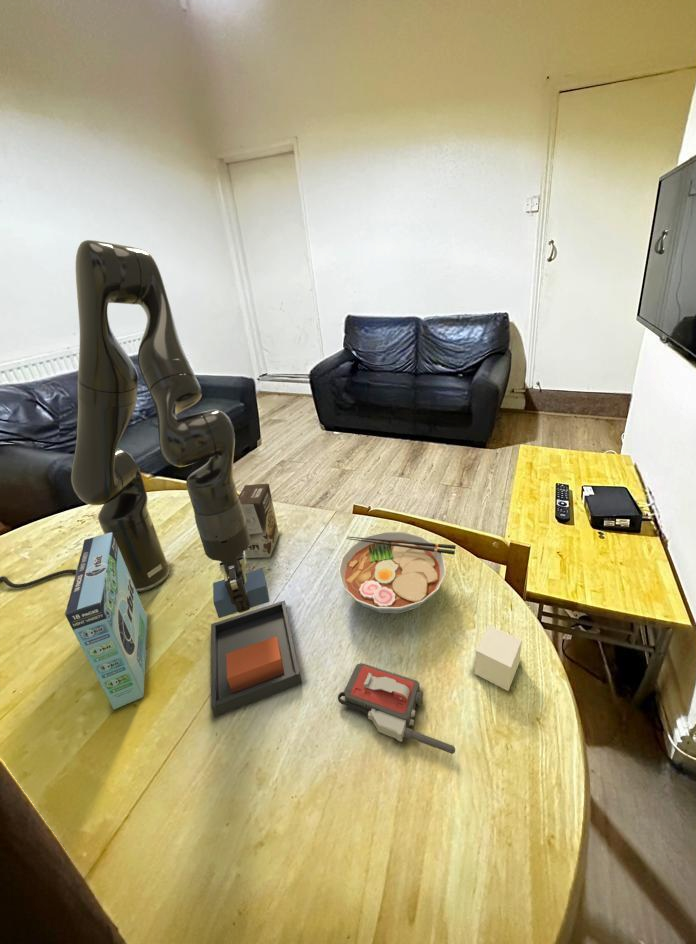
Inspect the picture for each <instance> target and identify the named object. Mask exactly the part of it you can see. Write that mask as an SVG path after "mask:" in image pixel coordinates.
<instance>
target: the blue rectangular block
mask: <svg viewBox="0 0 696 944" xmlns="http://www.w3.org/2000/svg"><path fill="white" fill-rule="evenodd" d="M245 573H246V577H247V582H246V583H245V586H246V590H247V592H248V593H247V596H248V600H249V603H250V609H252V608H255V607H258V606H261V605H264V604H267V603H270V601H271V600H270V596H269V595H270V594H269V589H268V584H267V579H266V576H265V571H264V568H263V567H262V568H257V569H254V570H251V571H248V572H245ZM239 577H242V575H240V576H239ZM237 578H238V577H237ZM228 579H229V580H230V578H229V577H228ZM212 596H213V601H212V602H213V606H214V609H215V612H216V615H217V619H221V618H222V619H223V618H224V617H228V616H231V615H233V614H237V613H238V612H237V608H236V605H235V604H232V603H231V599H230V597H229V594H228V591H227V588H226V587H225V579H220V580H217V581H213V583H212Z"/></svg>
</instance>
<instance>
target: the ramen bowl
mask: <svg viewBox="0 0 696 944" xmlns="http://www.w3.org/2000/svg"><path fill="white" fill-rule="evenodd" d="M345 539H346V540H351V541H357V542H355V543H353V544H352V545H351V546H349V548H348V549H347V551H346V552H345V553H344V554H343V555H342V557H341V560H340V563H339V568H338V572H337V573H338V577H339V580H340V582H341V583H340V584H341V587H342V589H343V590H344V591H345V592H346V593H347V594H348V595H349V596H350V597H351V598H352V599H353V600H355V601H356V602H357V603H358V604H359V605H361V606H362V607H364V608H367V609H370V610H372V611H375V612H378V613H380V614H402V613H404V612H407V611H411V610H414V609H417V608H419V607H420V606H421V605H423V604H424V603H426V601H428V600H429V599H430V598H431V597H433V596H434V595H435V594H436V593H437V591H439V589H440V586H441V585H442V582H443V581H444V580H445V579H444V578H445V576H446V574H447V570H446V561H445V560H446V559H445V557H444V556H443V554H446V555H453V556H454V555H455V554H456V549H457V548H456V547H457V546H456V544H446V543H445V544H444V543H434V542H432V541H429V540H428V539H427V538H425V537H423V536H421V535H418V534H415V533H411V532H407V531H381V532H378V533H374V534H370V535H367V536H366V537H359V536H358V537H357V536H347V537H346V538H345Z"/></svg>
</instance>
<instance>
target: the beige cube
mask: <svg viewBox="0 0 696 944" xmlns="http://www.w3.org/2000/svg"><path fill="white" fill-rule="evenodd" d="M522 642H523V639H521V638H519V637H517V636H515V635H512V634H510V633H508V632H506V631H503V630H501V629H499V628H496V627H495V626H492V625H490V624H488V625H487V627H486V630H485V632H484V634H483V635H482V637H481V640H480V642H479V643H478V645H477V647H476V649H475V657H474V658H475V659H474V661H475V662H474V675H476V676H478V677H480V678H482V679H484V680H486V681H488V682H489V683H492V684H493V685H495V686H497V687H498V688H501V689H503V690H505V691H507V692H509V690H510V688H511V686H512V683H513V681H514V678H515V676H516V673H517V670H518V667H519V666H520V665H519V664H520V659H521V654H522V653H521V652H522V644H523V643H522Z"/></svg>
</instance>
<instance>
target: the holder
mask: <svg viewBox="0 0 696 944" xmlns="http://www.w3.org/2000/svg"><path fill="white" fill-rule="evenodd" d="M210 628H211V629H210V708H211V710H212V714H213V715H214V717H215V718H216V717H218V716H221V715H223V714H227V713H229V712H231V711H234V710H237V709H239V708H241V707H244V706H247V705H249V704H253V703H255V702H257V701H260V700H262V699H264V698H267V697H270V696H272V695H274V694H277V693H280V692H283V691H285V690H288V689H290V688H293V687H295V686H298V685H300V684H302V683H303V680H302V676H301V671H300V666H299V661H298V656H297V652H296V647H295V642H294V638H293V632H292V628H291V623H290V619H289V614H288V609H287V605H286V601H285V600H281V601H278V602H275V603H272V604H269V605H266V606H265V605H264V606H263V607H260V608H256V609H253V610H249V611H248V612H247V611H246V612H243V613H240V614H237V615H235V616H232V617H229V618H225V619H222V620H219V621H216V622H214V623H211V624H210ZM276 636H277V638H278V643H279V647H280V651H281V657H282V662H283V668H284V674H282V675H280V676H277V677H274V678H272V679H269V680H267V681H264V682H261V683H259V684H256V685H253V686H251V687H248V688H245V689H243V690H240V691H238V692H235V693H232V692H231V689H230V686H229V683H228V680H227V663H226V654H227V653H230V652H233V651H236V650H239V649H241V648H244V647H247V646H250V645H253V644H256V643H259V642H261V641H264V640H267V639H270V638H273V637H276Z"/></svg>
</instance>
